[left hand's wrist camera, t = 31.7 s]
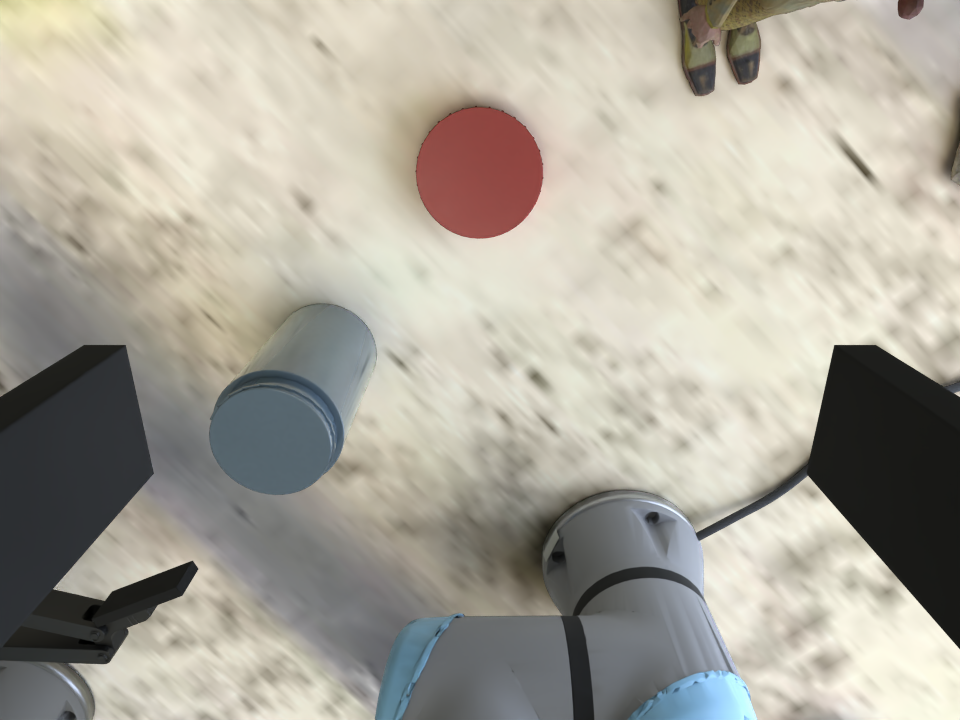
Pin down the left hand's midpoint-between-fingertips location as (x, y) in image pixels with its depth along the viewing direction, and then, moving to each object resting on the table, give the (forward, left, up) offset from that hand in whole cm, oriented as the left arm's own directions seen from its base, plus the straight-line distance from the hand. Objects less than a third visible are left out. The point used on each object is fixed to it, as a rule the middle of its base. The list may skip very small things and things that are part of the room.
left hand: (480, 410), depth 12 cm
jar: (+18, +7, -41) cm, 45 cm away
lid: (0, 0, -39) cm, 39 cm away
